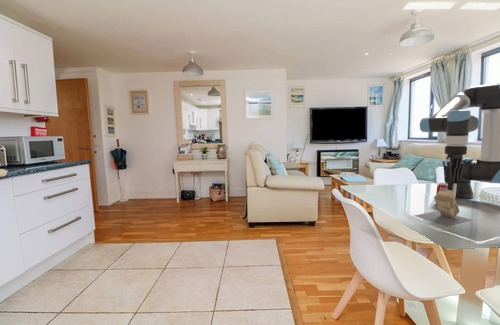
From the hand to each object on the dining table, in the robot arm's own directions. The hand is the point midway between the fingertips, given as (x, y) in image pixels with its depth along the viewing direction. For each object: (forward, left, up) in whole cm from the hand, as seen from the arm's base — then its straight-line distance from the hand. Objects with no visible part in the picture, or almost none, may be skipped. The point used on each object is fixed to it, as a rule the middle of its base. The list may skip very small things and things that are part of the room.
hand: (451, 196), depth 109 cm
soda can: (-17, -12, -10) cm, 23 cm away
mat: (+5, 0, -10) cm, 11 cm away
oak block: (-1, 0, -8) cm, 8 cm away
